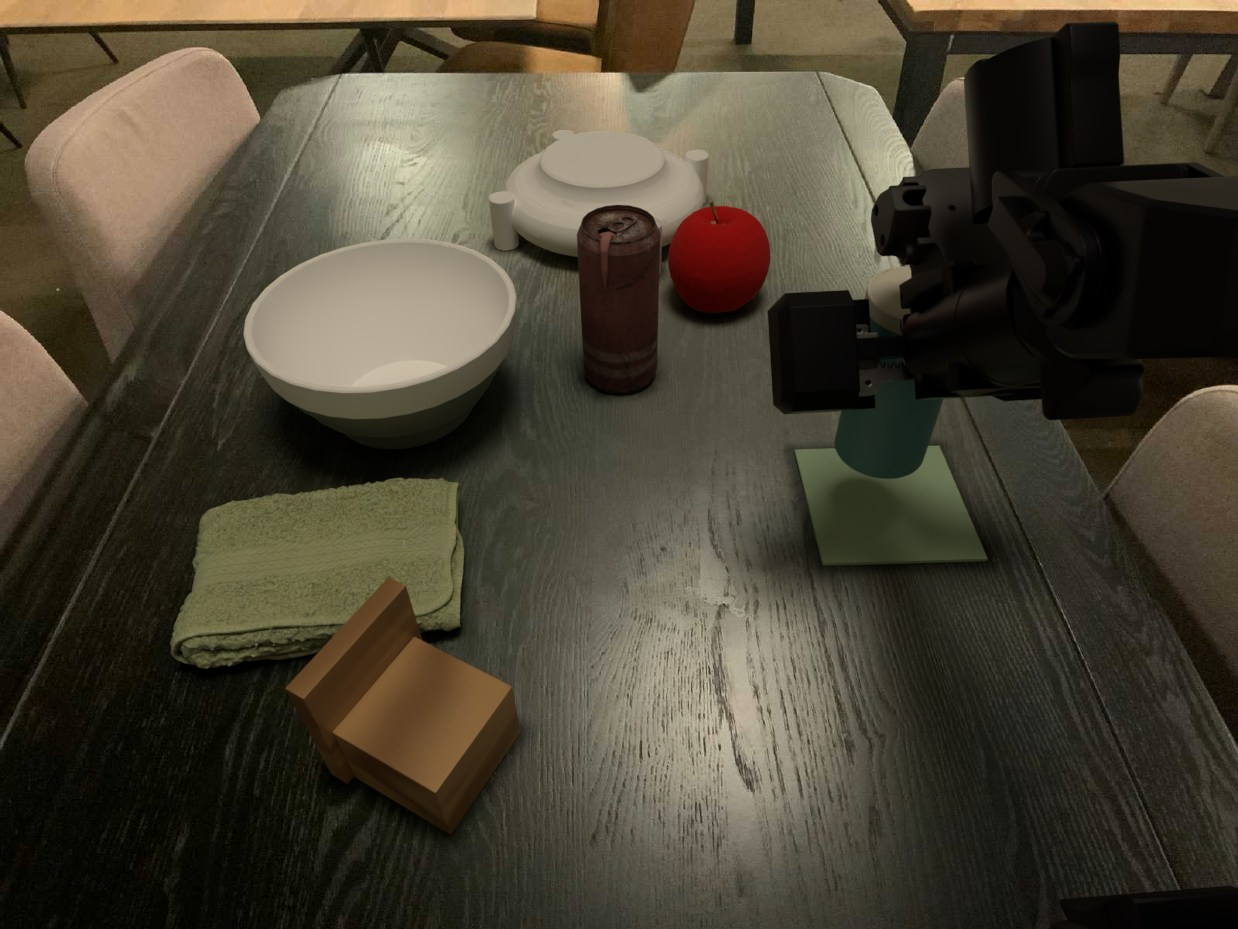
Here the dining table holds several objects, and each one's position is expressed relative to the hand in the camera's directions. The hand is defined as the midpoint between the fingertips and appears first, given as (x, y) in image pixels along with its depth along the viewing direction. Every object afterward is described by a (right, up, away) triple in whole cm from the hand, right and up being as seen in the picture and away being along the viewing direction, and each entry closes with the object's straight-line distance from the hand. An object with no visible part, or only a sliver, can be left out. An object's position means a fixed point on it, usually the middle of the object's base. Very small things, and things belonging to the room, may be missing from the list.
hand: (891, 366), depth 54 cm
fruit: (-8, +9, +26) cm, 29 cm away
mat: (+2, -9, +7) cm, 12 cm away
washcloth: (-36, -14, +3) cm, 39 cm away
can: (-17, +1, +18) cm, 25 cm away
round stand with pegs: (-19, +19, +36) cm, 45 cm away
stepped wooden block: (-27, -22, -6) cm, 36 cm away
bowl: (-34, -1, +16) cm, 38 cm away
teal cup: (0, -5, +3) cm, 6 cm away
